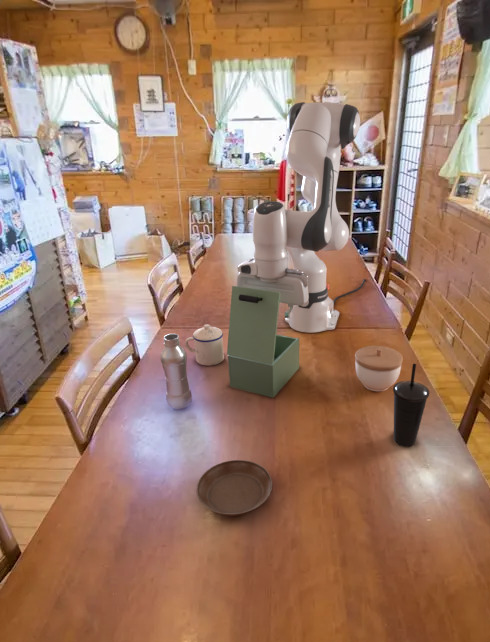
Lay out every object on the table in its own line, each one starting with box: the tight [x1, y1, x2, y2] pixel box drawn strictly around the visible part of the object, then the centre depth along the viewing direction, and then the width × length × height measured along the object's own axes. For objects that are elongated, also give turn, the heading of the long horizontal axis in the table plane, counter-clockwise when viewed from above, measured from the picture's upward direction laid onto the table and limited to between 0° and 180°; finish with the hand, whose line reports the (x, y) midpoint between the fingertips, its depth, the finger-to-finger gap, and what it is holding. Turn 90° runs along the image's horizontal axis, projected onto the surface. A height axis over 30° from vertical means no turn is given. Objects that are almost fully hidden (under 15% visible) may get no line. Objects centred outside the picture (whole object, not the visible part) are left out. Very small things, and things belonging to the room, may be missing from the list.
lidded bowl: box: [354, 345, 404, 392], centre depth 124 cm, size 13×13×11 cm
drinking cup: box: [392, 363, 430, 448], centre depth 100 cm, size 8×8×20 cm
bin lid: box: [226, 285, 280, 365], centre depth 116 cm, size 19×14×5 cm
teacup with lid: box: [184, 323, 225, 367], centre depth 139 cm, size 12×9×12 cm
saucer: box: [196, 459, 273, 517], centre depth 90 cm, size 15×15×3 cm
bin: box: [227, 333, 300, 399], centre depth 129 cm, size 18×14×10 cm
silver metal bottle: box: [159, 333, 193, 410], centre depth 115 cm, size 6×7×20 cm
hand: (272, 314), depth 125 cm, fingers open, 8 cm apart
